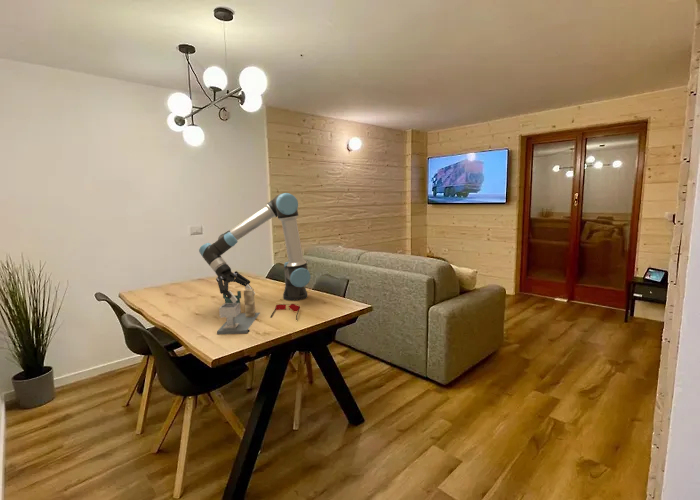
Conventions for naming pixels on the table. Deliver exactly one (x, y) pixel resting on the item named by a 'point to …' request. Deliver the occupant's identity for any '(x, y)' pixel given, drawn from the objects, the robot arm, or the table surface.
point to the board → (243, 326)
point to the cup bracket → (230, 314)
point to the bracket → (238, 296)
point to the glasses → (292, 306)
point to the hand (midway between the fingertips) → (245, 298)
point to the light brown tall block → (249, 302)
